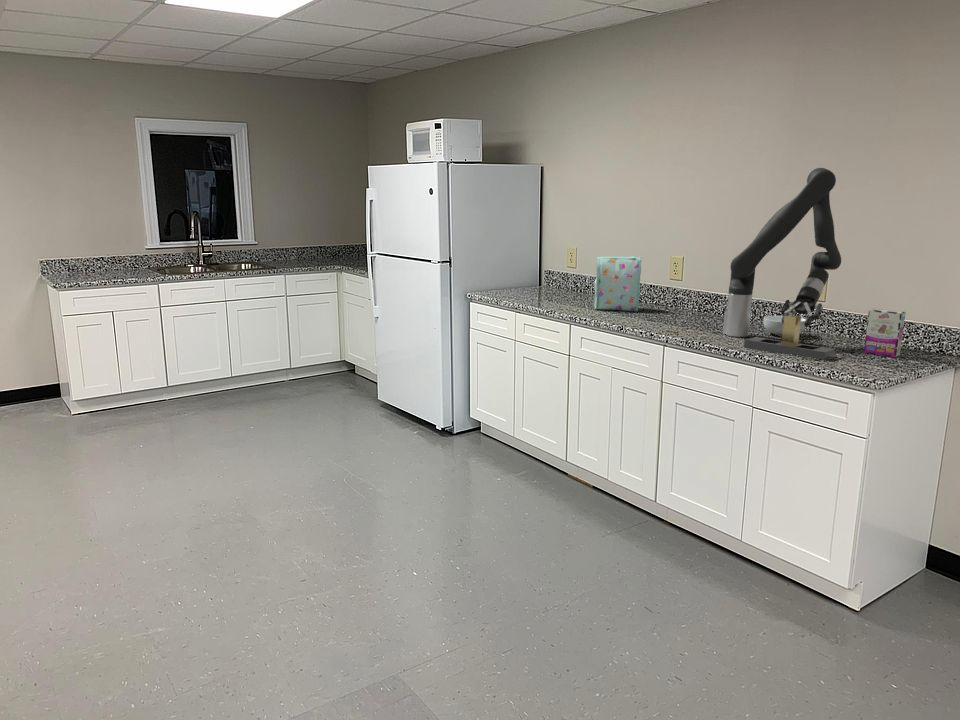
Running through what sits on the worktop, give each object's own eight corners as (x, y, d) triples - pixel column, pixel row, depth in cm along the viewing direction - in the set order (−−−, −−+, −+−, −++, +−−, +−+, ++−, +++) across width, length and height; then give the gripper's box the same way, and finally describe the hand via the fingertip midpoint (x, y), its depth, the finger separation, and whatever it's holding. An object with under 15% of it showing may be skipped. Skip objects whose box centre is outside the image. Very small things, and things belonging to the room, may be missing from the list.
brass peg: (781, 347, 281) (784, 316, 278) (786, 345, 284) (789, 315, 281) (792, 349, 278) (796, 317, 275) (797, 347, 281) (801, 316, 278)
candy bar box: (900, 356, 268) (906, 311, 265) (895, 358, 265) (902, 312, 261) (867, 351, 276) (873, 308, 273) (862, 353, 273) (868, 309, 269)
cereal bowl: (770, 330, 319) (771, 314, 318) (810, 335, 309) (812, 318, 307) (756, 335, 306) (758, 318, 305) (797, 340, 296) (799, 323, 295)
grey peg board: (743, 347, 279) (744, 339, 278) (755, 344, 285) (755, 337, 284) (824, 360, 258) (825, 352, 257) (834, 357, 264) (835, 349, 263)
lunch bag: (637, 307, 380) (641, 255, 374) (640, 312, 364) (643, 257, 358) (593, 306, 383) (595, 253, 377) (593, 310, 367) (595, 256, 362)
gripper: (790, 284, 288) (773, 315, 283) (827, 287, 278) (811, 320, 273) (794, 296, 293) (778, 328, 288) (831, 300, 283) (815, 332, 278)
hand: (794, 324), depth 280 cm, fingers open, 8 cm apart
